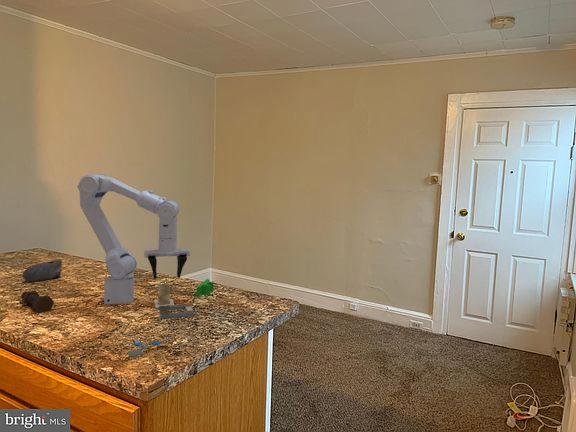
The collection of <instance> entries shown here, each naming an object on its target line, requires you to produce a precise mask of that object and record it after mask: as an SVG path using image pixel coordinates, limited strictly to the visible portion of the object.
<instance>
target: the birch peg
mask: <svg viewBox="0 0 576 432" xmlns="http://www.w3.org/2000/svg"><path fill="white" fill-rule="evenodd" d="M157 290H158V293H157V297H158V298H157V300H158V303H159V305H167V304H170V299H171V285H170V283H161V284H158V289H157Z"/></svg>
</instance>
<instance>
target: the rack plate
mask: <svg viewBox="0 0 576 432" xmlns="http://www.w3.org/2000/svg"><path fill="white" fill-rule="evenodd" d="M158 309H159V314H160V318H161V319H163V320H164V319H166V320H167V319H175V318H177V319H178V318H188V317H196V313H195V310H194V308H193V306H192V304H191V303H184V304H182V303H181V304H174V305H167V306H159V307H158ZM171 310H184V312H183V311H182V312H170V313H169V311H171Z"/></svg>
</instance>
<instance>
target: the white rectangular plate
mask: <svg viewBox="0 0 576 432" xmlns="http://www.w3.org/2000/svg"><path fill="white" fill-rule="evenodd" d="M153 302H154V306H155V309H156V308H159V306H167V305H175V303H174V300H173V298H170V304H167V305H159V303H158V299H154V300H153Z"/></svg>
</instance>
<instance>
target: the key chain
mask: <svg viewBox="0 0 576 432" xmlns="http://www.w3.org/2000/svg"><path fill="white" fill-rule="evenodd" d="M170 339H172V336H170V337H166V338H163V339H161V340H152V341H151V345H148V344H150V342H149V343H147V344H146V342H144V341H143V342H140V341H139V340H138V339H137V338H132V341H133V342H134V344H133V345H134V346H137V347H139V348H137V349H133V350H128V351H127V354H128V356H129V357H136V356H142V355H144V352H143V350H145V349H147V348H149V347H152V346H160V345H161V343H162V342H165V341H167V340H170Z"/></svg>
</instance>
